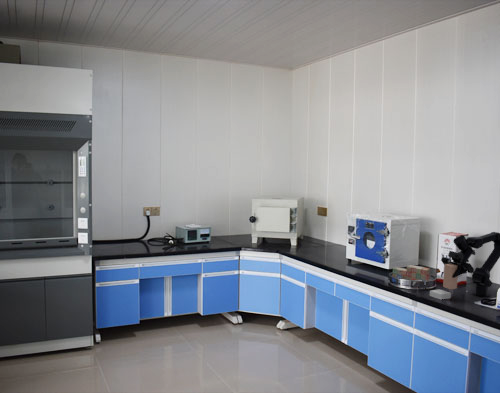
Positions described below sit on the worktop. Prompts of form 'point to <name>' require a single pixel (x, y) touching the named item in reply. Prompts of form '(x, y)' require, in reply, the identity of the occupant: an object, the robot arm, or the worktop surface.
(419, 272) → the stack of blocks
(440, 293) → the plinth block
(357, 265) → the worktop surface
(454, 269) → the terracotta block
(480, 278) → the robot arm
